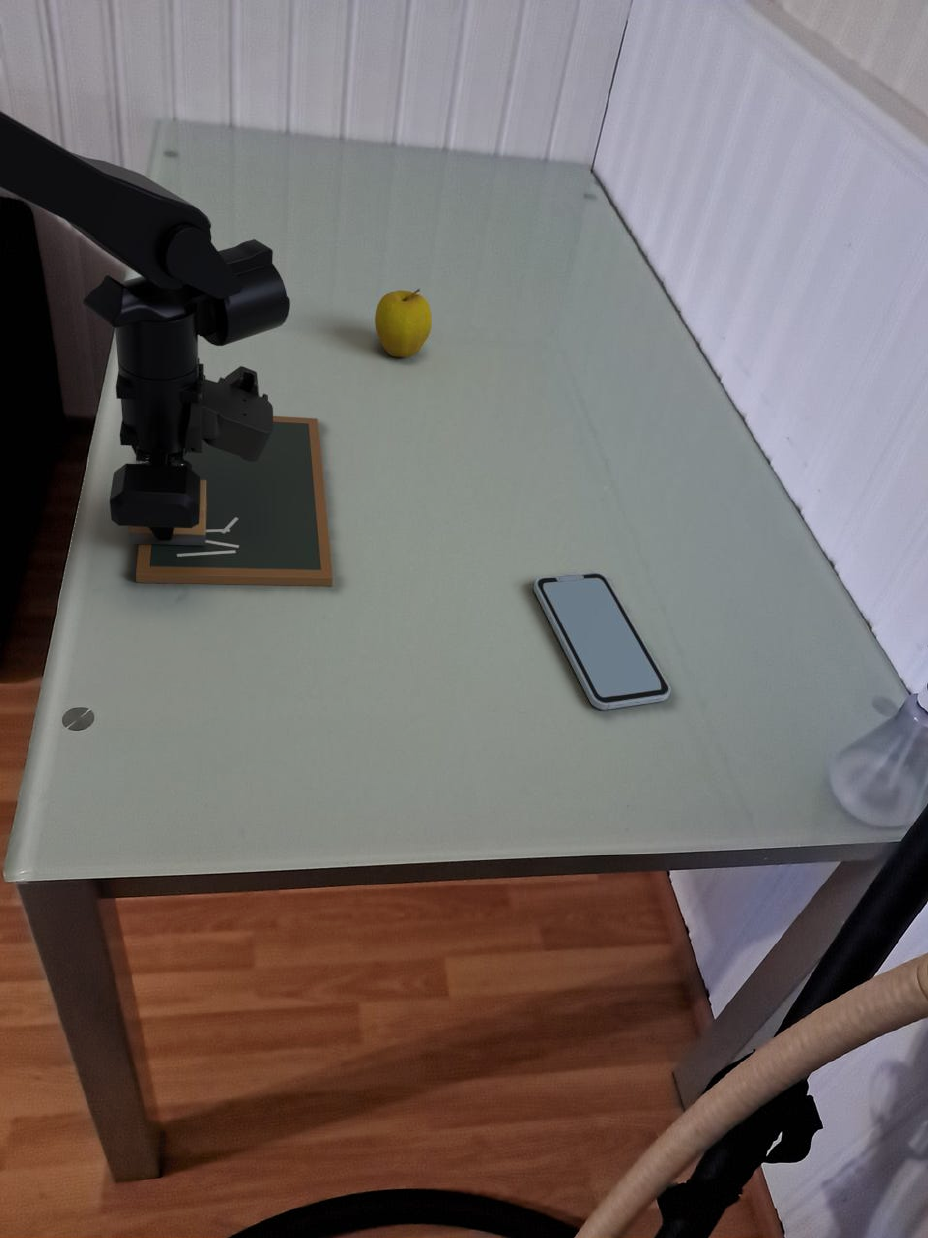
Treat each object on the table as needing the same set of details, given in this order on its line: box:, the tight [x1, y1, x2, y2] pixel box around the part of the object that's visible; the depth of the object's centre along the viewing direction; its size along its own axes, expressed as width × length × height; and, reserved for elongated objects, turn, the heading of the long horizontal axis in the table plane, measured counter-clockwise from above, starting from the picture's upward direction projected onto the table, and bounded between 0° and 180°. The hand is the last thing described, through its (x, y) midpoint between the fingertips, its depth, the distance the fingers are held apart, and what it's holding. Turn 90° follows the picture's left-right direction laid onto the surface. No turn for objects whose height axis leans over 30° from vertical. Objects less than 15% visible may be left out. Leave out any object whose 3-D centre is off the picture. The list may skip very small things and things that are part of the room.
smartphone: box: [533, 571, 672, 711], centre depth 83 cm, size 7×1×15 cm
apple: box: [374, 288, 433, 358], centre depth 110 cm, size 6×6×8 cm
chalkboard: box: [135, 415, 334, 587], centre depth 88 cm, size 16×24×1 cm, turn 9°
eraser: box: [129, 480, 207, 546], centre depth 81 cm, size 6×4×4 cm, turn 99°
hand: (166, 523), depth 82 cm, fingers closed on eraser, 4 cm apart
